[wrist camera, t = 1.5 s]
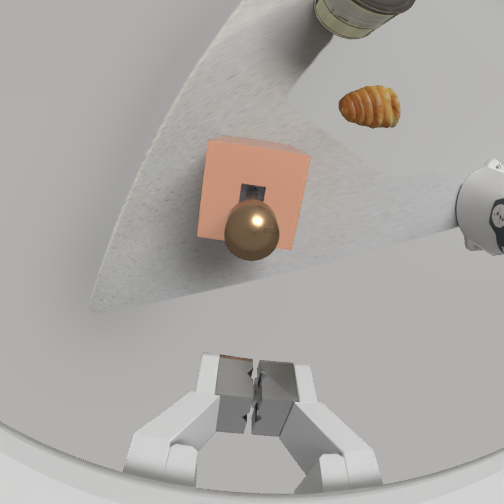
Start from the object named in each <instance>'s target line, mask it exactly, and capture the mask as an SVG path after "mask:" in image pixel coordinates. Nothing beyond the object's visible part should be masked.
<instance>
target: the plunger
mask: <svg viewBox="0 0 504 504" xmlns="http://www.w3.org/2000/svg"><path fill="white" fill-rule="evenodd" d="M264 192H265V187H263V186H256V185H249V184H243V183H242V185H241V192H240V198H239V203H238V204H237V205H236V206H234V207H233V209H232V210H231V211H230V213H229V215H228V218H227V222H226V226H225V231H224V239H225V243H226V245H227V247H228V249H229V250H230V251H231V252H232V253H233V254H234V255H235V256H237V257H239V258H241V259H244V260H250V261H255V260H260V259H263V258H265V257H267V256H268V255H270V254H271V253H272V252H273V251H274V250H275V248H276V246H277V244H278V242H279V236H280V235H279V227H278V223H277V219H276V216H275V214H274V212H273V210H272V209H271V208H270V207H269V206H268V205H267V204H265V203H264V202H263V198H264Z"/></svg>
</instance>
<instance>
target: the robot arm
mask: <svg viewBox="0 0 504 504" xmlns="http://www.w3.org/2000/svg"><path fill="white" fill-rule="evenodd" d="M457 220H458V224H459V227H460V229H461V231H462V232H463V234H464V237H465V245H466V248H467V249H469V250H471V251H474V250H484V251H486V252H488V253H489V254H491V255H493V256H495V255H501V254H504V166H503V165H502V164H500V163H499V162H498V161H497V160H496V159H494V158H490V159H489V160H488V161H487V162H486V163H485V165H484V166H483V167H481V168H479V169H477V170H475V171H473V172H472V173H471V174H470V175H469V176H468V177H467V179H466V180H465V181H464V183H463V185H462V187H461V189H460V192H459V196H458V200H457ZM218 364H219V365H218ZM252 371H253V360H252V359H247V358H240V357H233V356H226V355H220V358H219V355H218V354H212V353H206V352H203V353H202V356H201V362H200V366H199V372H198V377H197V382H196V387H195V392H194V391H189V392H188V393H186V394H185V395H184V396H183V397H181V398H180V399H179V400H178V401H176V402H175V403H174V404H172V405H171V406H170V407H169V408H167V409H166V410H165V411H163V412H162V413H161V414H159V415H158V416H157V417H156V418H154V419H153V420H152V421H150V422H149V423H148V424H146V425H145V426H144V427H142V428H141V429H139V430H138V431H137V432H136V433H134V436H133V440H132V443H131V446H130V449H129V453H128V456H127V459H126V463H125V466H124V469H123V472H120V471H116V470H113V469H109V468H106V467H103V466H100V465H97V464H94V463H91V462H88V461H86V460H82V459H80V458H77V457H74V456H72V455H69V454H67V453H64V452H62V451H59V450H57V449H55V448H52V447H50V446H48V445H46V444H43V443H41V442H39V441H37V440H35V439H33V438H30V437H28V436H26V435H24V434H22V433H20V432H18V431H16V430H15V429H13V428H11V427H9V426H7V425H5V424H3V423H2V422H0V504H504V448H502V449H500V450H498V451H495V452H493V453H491V454H488V455H486V456H483V457H481V458H478V459H475V460H473V461H470V462H467V463H465V464H462V465H459V466H456V467H453V468H450V469H447V470H443V471H440V472H436V473H433V474H429V475H426V476H422V477H417V478H413V479H409V480H405V481H400V482H395V483H390V484H385V485H383V483H382V479H381V476H380V472H379V468H378V465H377V461H376V457H375V454H374V451H373V449H372V448H370V446H368V445H367V444H366V443H365V442H364V441H363V440H362V439H361V438H360V437H359V436H357V435H356V434H355V433H354V432H353V431H352V430H351V429H350V428H349V427H348V426H346V425H345V424H344V423H343V422H342V421H341V420H340V419H339V418H338V417H337V416H336V415H335V414H334V413H333V412H332V411H330V410H329V409H328V408H327V407H326V406H325V405H324V404H323V403H318V401H317V396H316V392H315V387H314V382H313V377H312V372H311V368H310V365H309V364H308V363H290V362H276V361H266V360H260V362H259V364H258V368H257V378H255V381H254V385H253V379H252V378H251V375H252ZM217 372H218V373H217ZM251 404H252V407H253V408H254V411H253V414H252V434H253V435H254V434H255V435H264V436H278V437H279V438H280V440H281V441H282V443H283V444H284V445H285V447H286V448H287V449H288V451H289V452H290V454H291V455H292V456H293V458H294V459H295V461H296V462H297V463H298V465H299V466H300V467H301V469H302V470H303V471H304V472H305V474H306V475H307V476H306V477H305V478H304V480H303V481H302V482H301V483H300V485H299V486H298V487H297V488H296V490H295V491H294V494H260V493H240V492H228V491H218V490H209V489H202V488H196V471H197V470H196V469H197V452H198V451H199V450H200V449H201V448H202V447H203V446H204V445H205V443H206V442H207V441H208V440H209V439H210V438H211V437H212V436H213V435H214V434H215V431H218V432H230V433H244V430H245V426H246V422H247V414H248V413H249V412H250V408H251Z"/></svg>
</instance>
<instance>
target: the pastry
mask: <svg viewBox="0 0 504 504" xmlns="http://www.w3.org/2000/svg"><path fill="white" fill-rule="evenodd" d="M339 110H340V112H341V114H342V116H343V117H344V118H345V119H346V120H347V121H349V122H353V123H356V124H358V125H362V126H368V127H370V128H376V127H385V128H388V127H395V126H396V125H397V123H398V120H399V118H400V103H399V100H398V97H397V95H396V93H395V92H394V91H393V90H392V89H390V88H385V87H383V86H378V85H377V86H366V87H364V88H361V89H359V90H356V91H353V92H350V93H348V94H346V95H345V96H344V97H343V98H342V99H341V100H340V101H339Z"/></svg>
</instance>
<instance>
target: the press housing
mask: <svg viewBox="0 0 504 504" xmlns="http://www.w3.org/2000/svg"><path fill="white" fill-rule="evenodd" d="M310 159H311V156H309V155H308V154H306V153H304V152H302V151H300V150H298V149H296V148H294V147H292V146H290V145H284V144H278V143H273V142H267V141H260V140H254V139H247V138H240V137H233V136H225V135H223V136H220V137H217V138H214V139H210V140H208V146H207V153H206V161H205V169H204V177H203V185H202V194H201V203H200V212H199V222H198V232H197V237H203V238H210V239H217V240H224V241H225V239H224V231H225V226H226V222H227V218H228V215H229V213H230V211H231V210H232V209H233V207H234V206H236V205H237V204H238V203H239V198H240V192H241V185H242V183H243V184H249V185H256V186H263V187H265V192H264V198H263V202H264V203H265V204H267V205H268V206H269V207H270V208H271V209H272V210H273V212H274V214H275V216H276V219H277V223H278V227H279V235H280V236H279V242H278V244H277V246H276V248H280V249H287V250H292V247H293V242H294V237H295V233H296V228H297V223H298V219H299V214H300V209H301V204H302V199H303V194H304V189H305V184H306V179H307V174H308V169H309V164H310Z"/></svg>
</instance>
